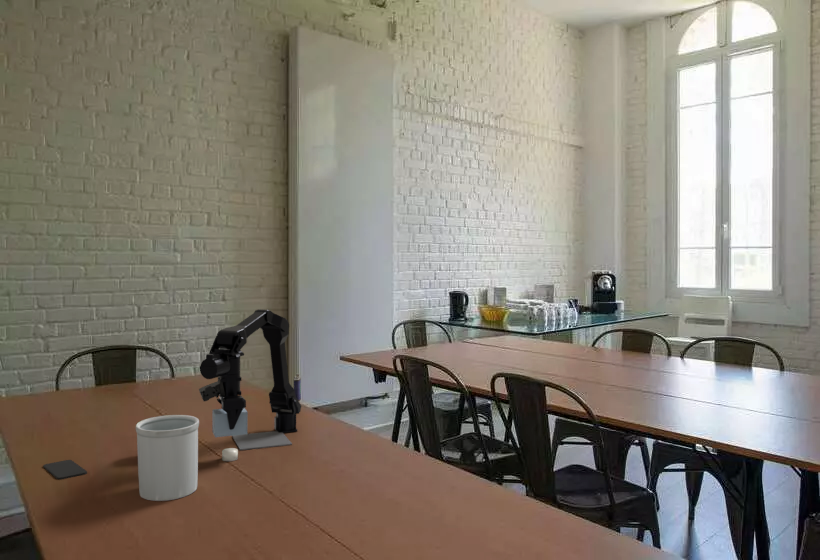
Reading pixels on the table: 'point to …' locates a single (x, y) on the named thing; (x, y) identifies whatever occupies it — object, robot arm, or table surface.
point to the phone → (64, 469)
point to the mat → (261, 440)
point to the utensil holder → (167, 456)
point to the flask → (297, 386)
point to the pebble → (230, 454)
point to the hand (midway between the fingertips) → (229, 426)
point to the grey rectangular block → (222, 426)
